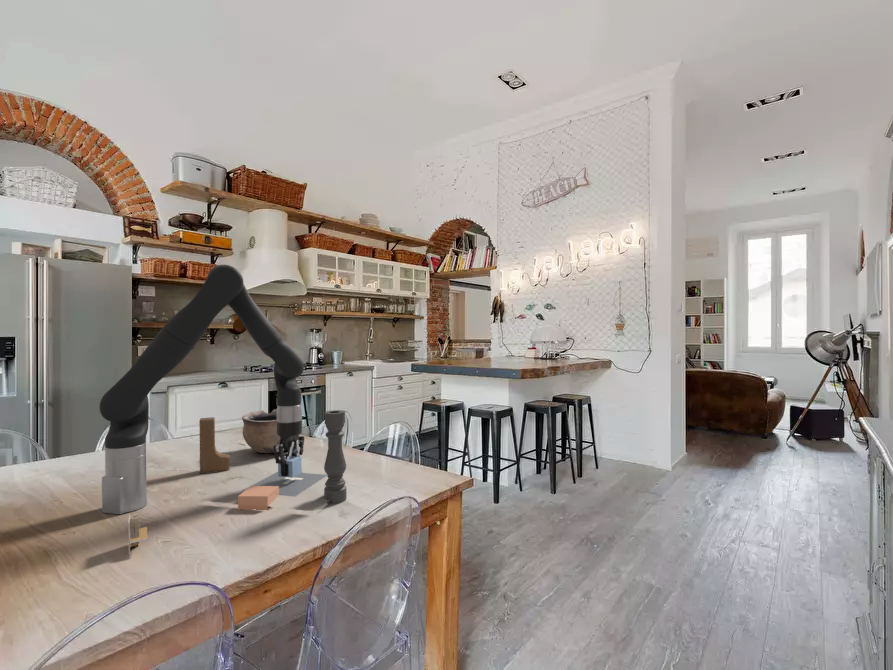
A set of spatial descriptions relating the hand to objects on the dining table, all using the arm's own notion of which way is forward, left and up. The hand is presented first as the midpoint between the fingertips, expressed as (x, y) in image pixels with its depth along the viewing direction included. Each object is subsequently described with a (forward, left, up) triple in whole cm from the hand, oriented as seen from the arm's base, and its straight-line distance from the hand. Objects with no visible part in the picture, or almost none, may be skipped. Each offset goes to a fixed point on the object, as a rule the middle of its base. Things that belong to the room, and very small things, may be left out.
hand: (289, 473), depth 146 cm
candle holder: (-9, -20, -4) cm, 22 cm away
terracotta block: (-17, -1, -4) cm, 17 cm away
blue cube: (0, 0, 0) cm, 0 cm away
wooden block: (+7, +33, -4) cm, 34 cm away
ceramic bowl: (+33, +28, -4) cm, 43 cm away
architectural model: (-46, +10, -4) cm, 47 cm away
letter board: (-2, 0, -3) cm, 4 cm away
